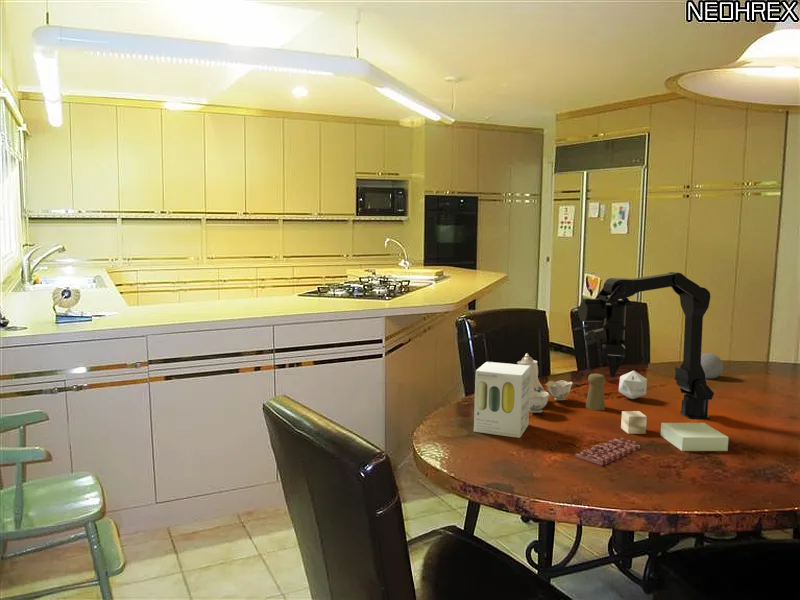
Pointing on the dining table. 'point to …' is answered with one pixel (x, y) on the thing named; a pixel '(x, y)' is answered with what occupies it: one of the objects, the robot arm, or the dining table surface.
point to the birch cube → (633, 422)
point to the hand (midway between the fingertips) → (612, 373)
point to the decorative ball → (711, 365)
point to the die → (632, 385)
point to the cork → (596, 392)
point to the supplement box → (502, 399)
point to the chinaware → (537, 392)
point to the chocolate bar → (608, 452)
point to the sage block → (694, 437)
